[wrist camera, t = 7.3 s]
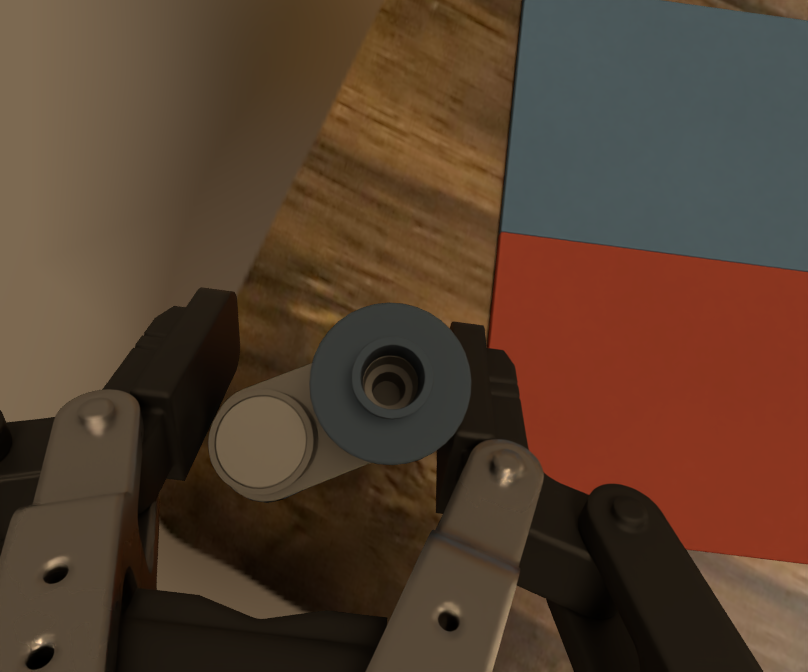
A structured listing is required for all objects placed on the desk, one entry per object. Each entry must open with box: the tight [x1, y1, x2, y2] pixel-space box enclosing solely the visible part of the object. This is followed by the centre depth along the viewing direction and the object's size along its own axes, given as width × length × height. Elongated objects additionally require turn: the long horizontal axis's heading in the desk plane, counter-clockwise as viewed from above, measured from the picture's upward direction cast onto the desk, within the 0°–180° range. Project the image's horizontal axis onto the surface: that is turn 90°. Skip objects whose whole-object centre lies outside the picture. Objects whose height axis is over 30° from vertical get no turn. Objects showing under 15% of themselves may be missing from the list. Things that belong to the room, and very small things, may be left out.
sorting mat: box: [487, 0, 808, 564], centre depth 24 cm, size 15×24×1 cm, turn 173°
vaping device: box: [208, 303, 471, 503], centre depth 13 cm, size 3×5×12 cm, turn 111°
